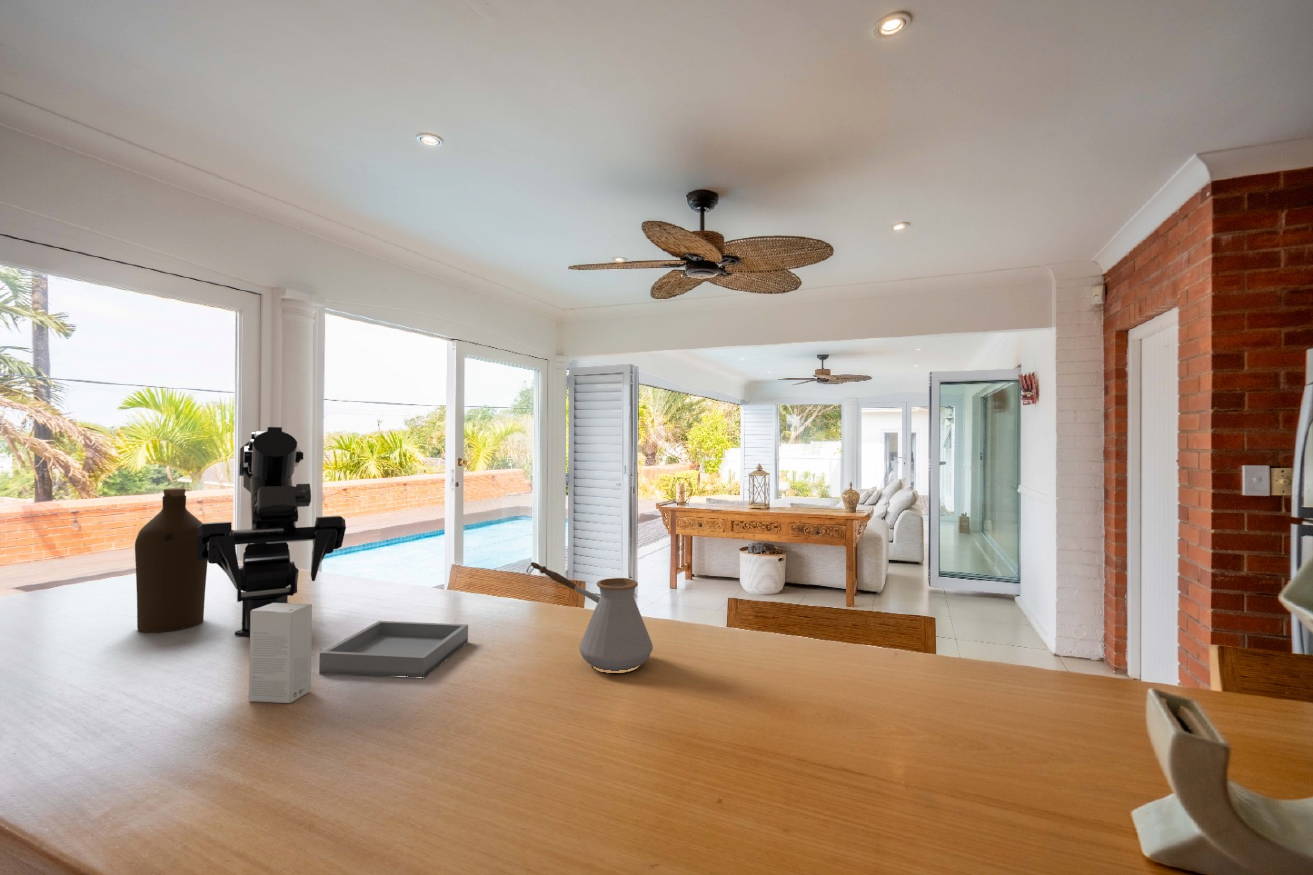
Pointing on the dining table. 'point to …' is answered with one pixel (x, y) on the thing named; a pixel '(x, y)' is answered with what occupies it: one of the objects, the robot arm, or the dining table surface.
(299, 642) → the skincare box
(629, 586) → the coffee pot
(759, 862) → the dining table surface
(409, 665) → the tray
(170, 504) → the olive oil
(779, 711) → the dining table surface
